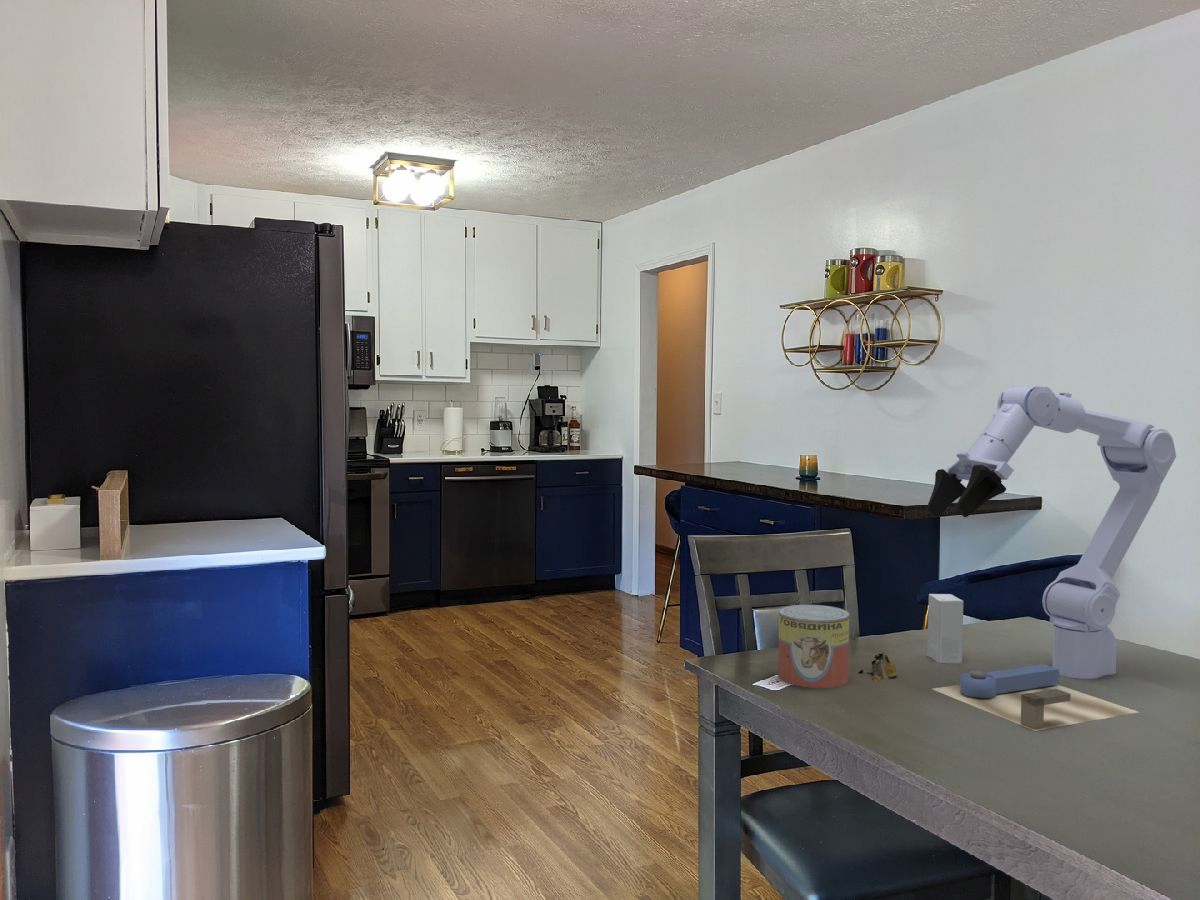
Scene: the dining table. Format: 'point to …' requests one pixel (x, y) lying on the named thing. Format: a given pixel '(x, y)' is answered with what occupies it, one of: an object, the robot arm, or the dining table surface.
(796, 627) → the canned food
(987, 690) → the link
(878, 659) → the regulator
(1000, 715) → the board
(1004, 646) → the dining table surface
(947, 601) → the skincare box
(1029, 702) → the keeper
